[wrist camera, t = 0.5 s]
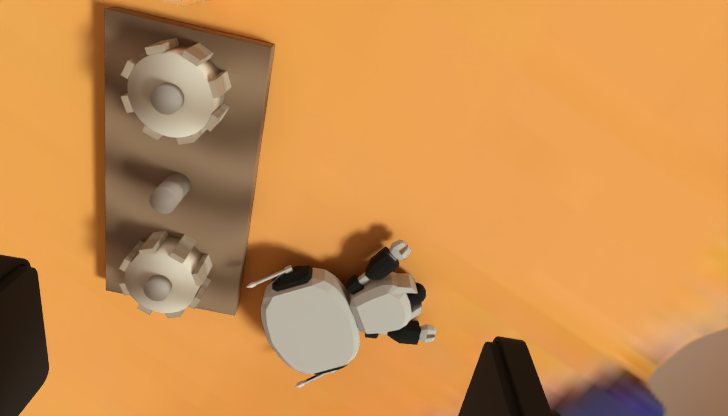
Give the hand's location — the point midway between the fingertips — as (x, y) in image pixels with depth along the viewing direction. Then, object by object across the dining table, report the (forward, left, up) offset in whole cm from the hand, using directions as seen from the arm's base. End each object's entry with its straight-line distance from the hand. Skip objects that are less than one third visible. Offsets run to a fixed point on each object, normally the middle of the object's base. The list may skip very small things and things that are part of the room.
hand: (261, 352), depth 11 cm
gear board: (+12, -12, -32) cm, 36 cm away
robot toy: (+21, +4, -32) cm, 39 cm away
